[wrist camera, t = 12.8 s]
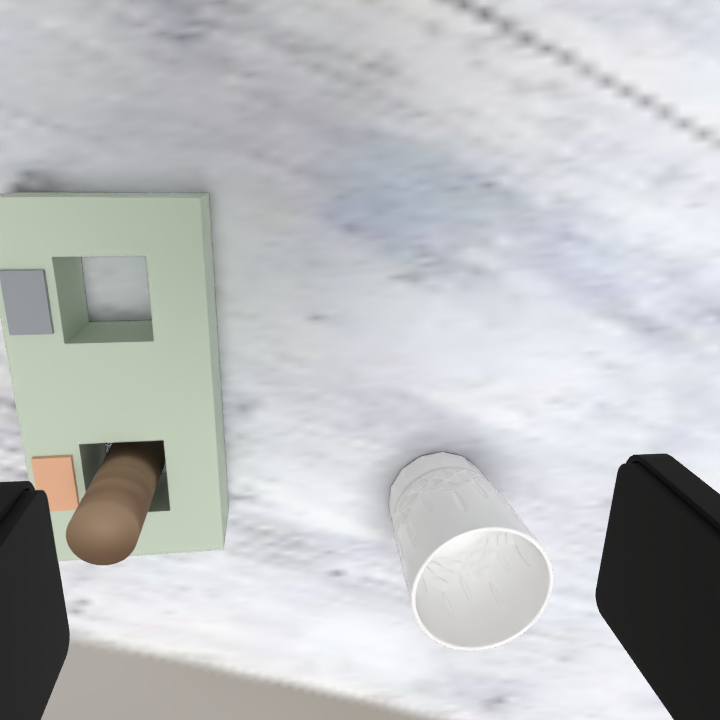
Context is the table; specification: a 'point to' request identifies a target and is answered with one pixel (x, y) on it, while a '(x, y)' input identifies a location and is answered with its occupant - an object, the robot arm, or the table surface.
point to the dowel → (116, 503)
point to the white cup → (466, 555)
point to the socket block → (117, 356)
